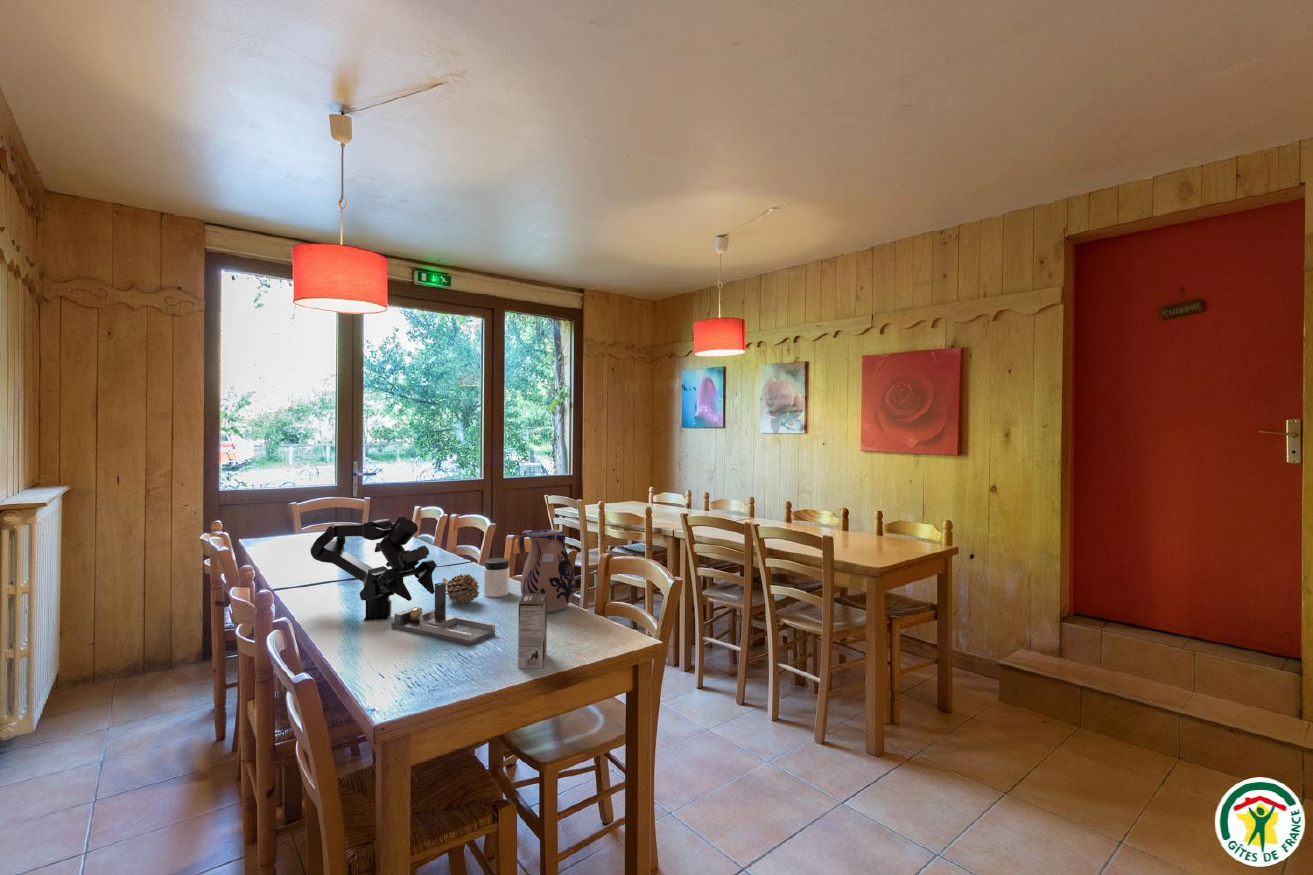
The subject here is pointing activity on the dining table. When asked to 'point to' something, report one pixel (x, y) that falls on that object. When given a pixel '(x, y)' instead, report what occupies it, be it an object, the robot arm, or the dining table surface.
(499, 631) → the dining table surface
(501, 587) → the jar
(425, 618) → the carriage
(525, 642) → the coffee box
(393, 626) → the base
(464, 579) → the pine cone
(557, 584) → the ceramic pitcher
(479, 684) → the dining table surface
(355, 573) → the robot arm
